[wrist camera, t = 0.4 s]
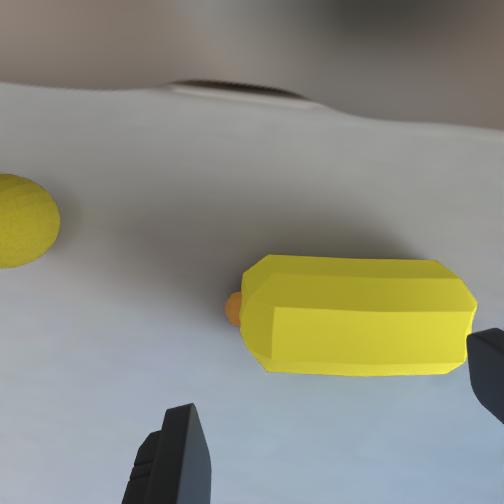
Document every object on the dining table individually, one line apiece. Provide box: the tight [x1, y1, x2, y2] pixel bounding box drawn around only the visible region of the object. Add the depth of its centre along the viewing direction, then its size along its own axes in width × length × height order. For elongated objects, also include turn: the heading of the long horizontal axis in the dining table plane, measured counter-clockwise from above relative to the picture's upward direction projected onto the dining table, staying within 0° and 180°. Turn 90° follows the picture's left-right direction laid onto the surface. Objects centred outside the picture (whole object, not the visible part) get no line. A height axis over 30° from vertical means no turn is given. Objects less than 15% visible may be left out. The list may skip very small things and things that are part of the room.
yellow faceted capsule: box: [224, 255, 478, 377], centre depth 25 cm, size 18×7×8 cm
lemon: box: [0, 174, 61, 269], centre depth 22 cm, size 6×6×8 cm
